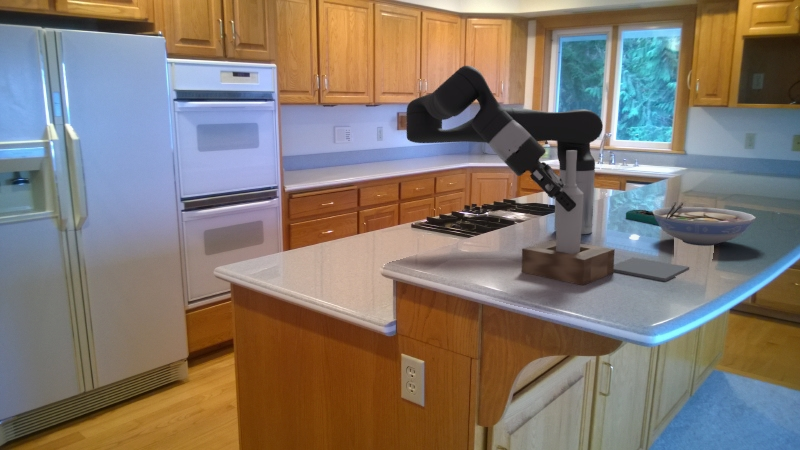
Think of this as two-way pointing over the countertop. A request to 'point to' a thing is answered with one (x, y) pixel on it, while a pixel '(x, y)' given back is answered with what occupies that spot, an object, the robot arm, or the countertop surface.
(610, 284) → the countertop surface
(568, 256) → the walnut holder
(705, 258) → the countertop surface
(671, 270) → the slate mat
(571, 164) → the bottle
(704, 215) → the ramen bowl
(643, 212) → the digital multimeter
